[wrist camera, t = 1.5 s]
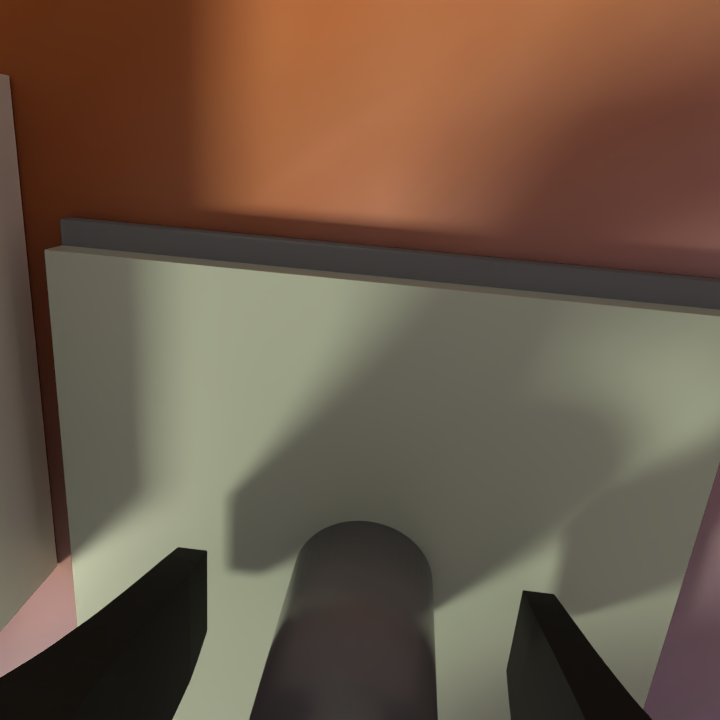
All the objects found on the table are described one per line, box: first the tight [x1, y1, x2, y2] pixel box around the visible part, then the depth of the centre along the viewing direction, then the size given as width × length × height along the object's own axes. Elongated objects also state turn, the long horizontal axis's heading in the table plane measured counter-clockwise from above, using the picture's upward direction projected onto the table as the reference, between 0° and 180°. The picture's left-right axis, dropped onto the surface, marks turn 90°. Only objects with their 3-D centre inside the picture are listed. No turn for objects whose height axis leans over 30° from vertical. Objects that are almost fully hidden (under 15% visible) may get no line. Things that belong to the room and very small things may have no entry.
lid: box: [44, 245, 720, 720], centre depth 12 cm, size 13×13×5 cm
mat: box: [60, 217, 720, 310], centre depth 14 cm, size 14×13×1 cm
